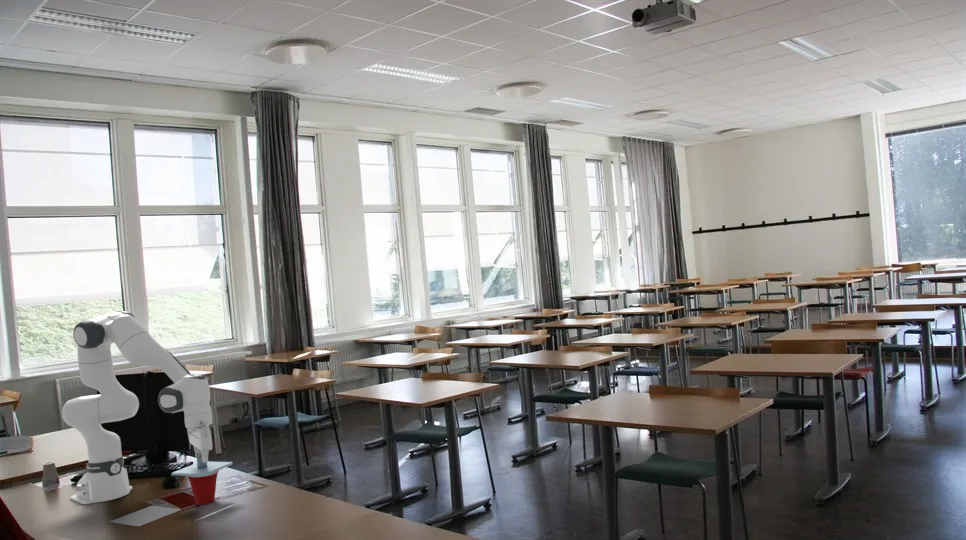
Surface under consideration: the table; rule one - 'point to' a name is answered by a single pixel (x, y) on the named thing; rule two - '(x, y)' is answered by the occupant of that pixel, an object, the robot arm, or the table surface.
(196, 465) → the lid
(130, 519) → the grey flat square plate
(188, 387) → the robot arm
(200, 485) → the plastic cup
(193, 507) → the table surface
